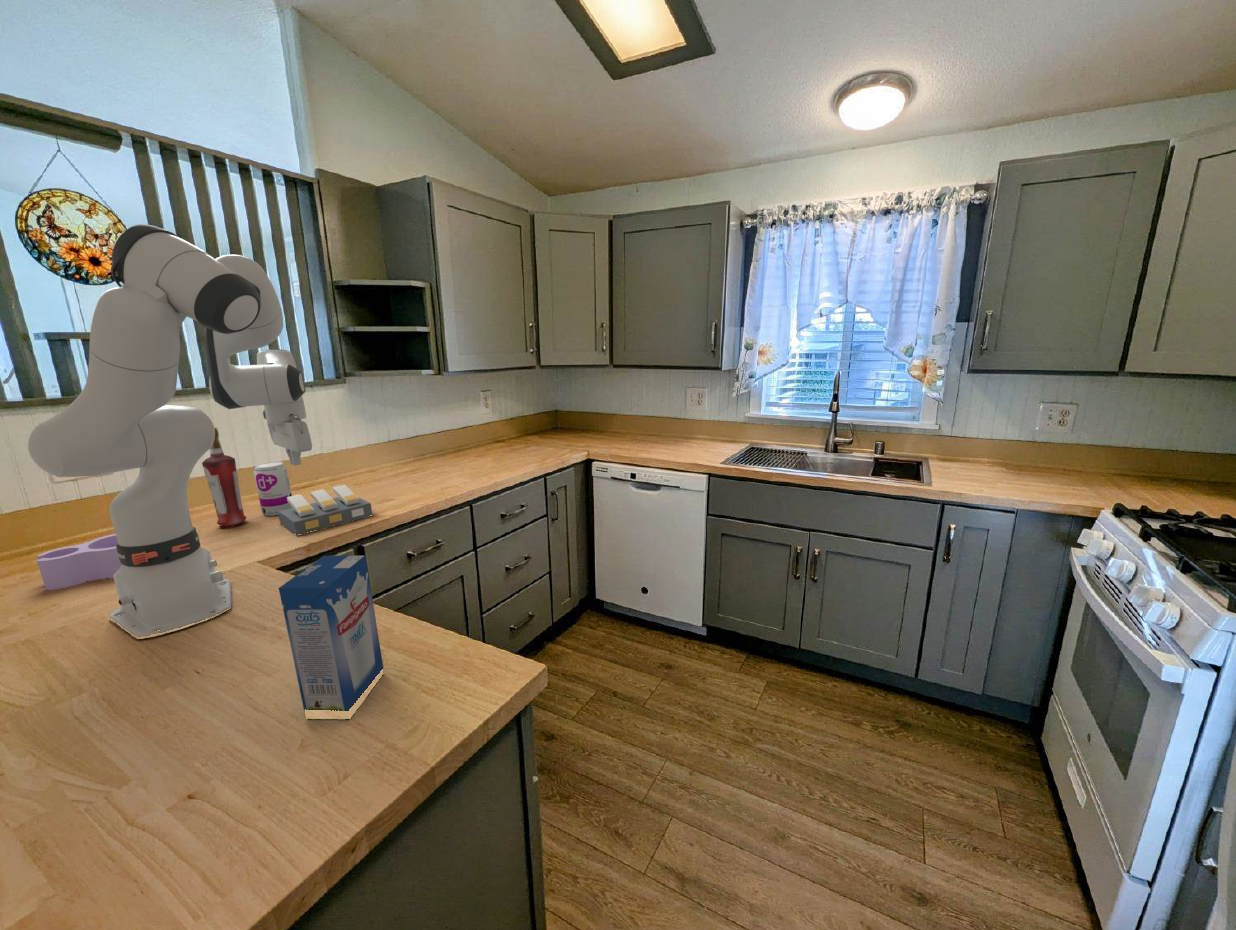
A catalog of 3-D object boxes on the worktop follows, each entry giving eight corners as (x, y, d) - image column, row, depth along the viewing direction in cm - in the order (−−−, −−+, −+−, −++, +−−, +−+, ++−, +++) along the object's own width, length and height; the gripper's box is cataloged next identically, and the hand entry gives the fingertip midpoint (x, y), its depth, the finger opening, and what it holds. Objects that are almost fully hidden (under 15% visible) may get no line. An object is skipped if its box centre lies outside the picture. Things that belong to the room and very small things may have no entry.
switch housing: (373, 516, 151) (370, 500, 149) (297, 536, 136) (293, 519, 135) (353, 506, 160) (351, 491, 159) (280, 524, 146) (277, 508, 144)
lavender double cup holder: (46, 596, 107) (36, 566, 105) (46, 579, 115) (37, 550, 114) (170, 564, 121) (163, 537, 120) (162, 550, 129) (155, 525, 128)
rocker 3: (359, 502, 150) (359, 498, 149) (346, 505, 147) (346, 501, 147) (345, 488, 155) (344, 484, 155) (332, 490, 153) (332, 486, 152)
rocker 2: (337, 507, 145) (337, 503, 145) (324, 510, 143) (323, 506, 142) (323, 492, 151) (323, 488, 150) (310, 495, 149) (310, 491, 148)
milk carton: (345, 673, 80) (324, 555, 75) (384, 673, 79) (365, 554, 74) (305, 720, 70) (278, 588, 65) (350, 720, 70) (325, 587, 65)
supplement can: (283, 516, 152) (273, 467, 149) (256, 516, 152) (245, 468, 149) (300, 507, 160) (291, 461, 156) (274, 507, 160) (264, 461, 157)
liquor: (212, 526, 146) (190, 429, 139) (242, 518, 151) (222, 425, 144) (222, 531, 142) (199, 431, 135) (252, 523, 147) (232, 427, 140)
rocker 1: (314, 513, 141) (314, 508, 140) (300, 516, 139) (299, 512, 138) (301, 497, 147) (300, 493, 146) (287, 500, 144) (286, 496, 144)
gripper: (313, 414, 129) (323, 467, 132) (286, 409, 142) (296, 457, 146) (285, 417, 124) (295, 472, 128) (260, 412, 138) (270, 461, 141)
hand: (295, 464), depth 137 cm, fingers closed
